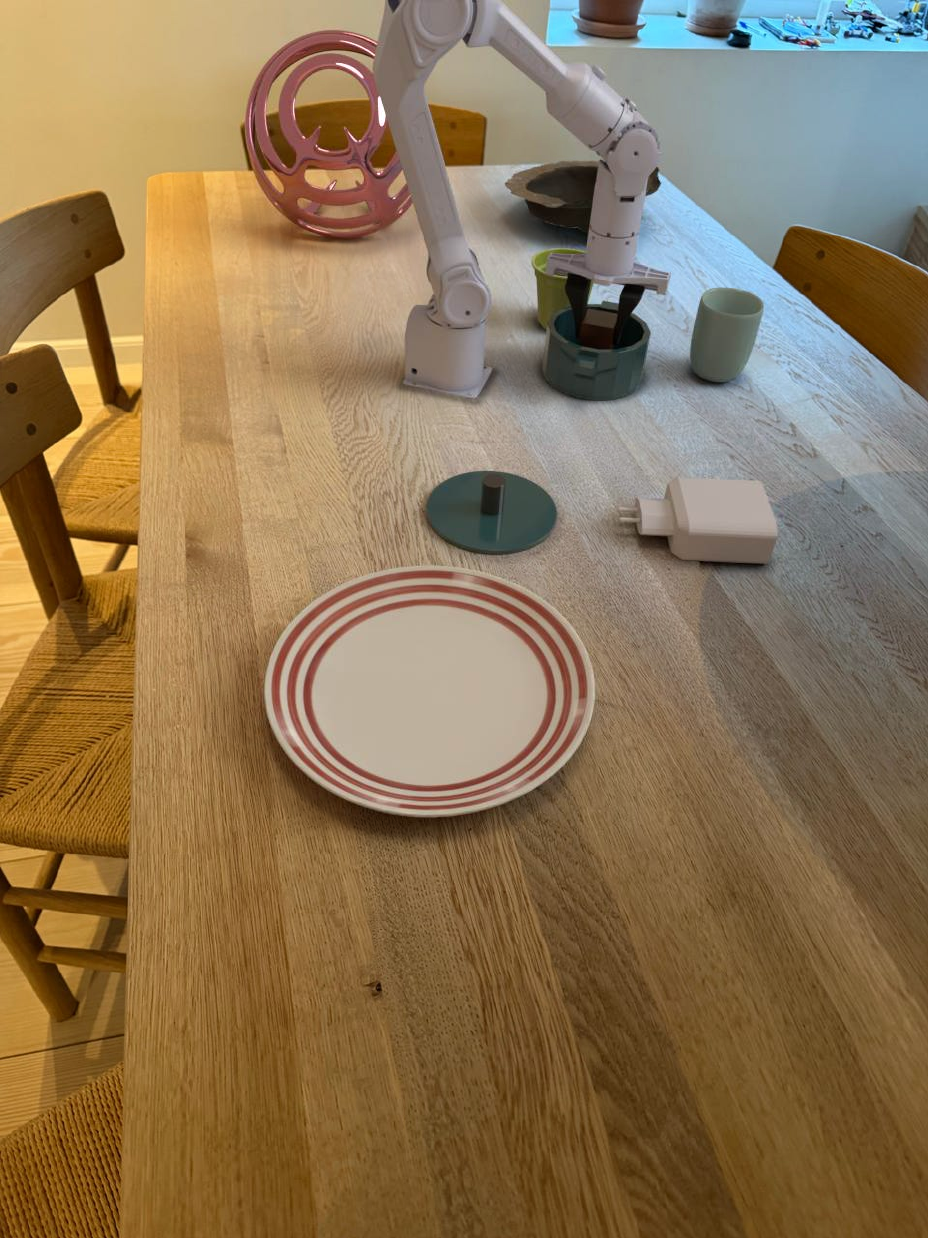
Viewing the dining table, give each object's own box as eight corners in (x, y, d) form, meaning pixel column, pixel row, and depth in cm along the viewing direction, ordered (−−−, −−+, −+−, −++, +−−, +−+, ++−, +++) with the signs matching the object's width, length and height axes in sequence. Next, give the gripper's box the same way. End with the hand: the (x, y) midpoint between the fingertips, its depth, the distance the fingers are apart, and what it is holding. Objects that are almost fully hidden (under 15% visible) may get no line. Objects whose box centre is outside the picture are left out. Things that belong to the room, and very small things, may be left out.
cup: (744, 393, 121) (765, 319, 114) (682, 384, 122) (699, 310, 115) (744, 363, 126) (764, 291, 119) (684, 355, 127) (701, 283, 120)
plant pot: (516, 330, 130) (521, 268, 124) (538, 302, 136) (544, 242, 130) (581, 345, 128) (590, 283, 122) (601, 316, 134) (610, 255, 128)
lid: (408, 541, 97) (408, 504, 93) (449, 468, 106) (450, 431, 103) (538, 571, 94) (543, 534, 91) (568, 494, 104) (573, 457, 100)
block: (577, 352, 119) (581, 322, 116) (583, 337, 122) (588, 308, 119) (608, 358, 118) (613, 328, 115) (614, 343, 121) (619, 313, 118)
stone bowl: (666, 258, 149) (674, 197, 142) (506, 262, 149) (506, 201, 143) (647, 195, 166) (653, 139, 160) (503, 199, 167) (503, 143, 160)
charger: (610, 506, 102) (749, 512, 103) (619, 562, 96) (767, 568, 96) (617, 469, 99) (760, 476, 99) (626, 524, 93) (780, 531, 93)
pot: (526, 399, 117) (531, 351, 113) (559, 334, 130) (565, 288, 125) (627, 419, 115) (637, 371, 110) (651, 351, 128) (660, 305, 123)
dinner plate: (484, 899, 68) (487, 874, 66) (197, 731, 78) (190, 704, 76) (642, 667, 85) (649, 641, 83) (391, 553, 95) (391, 527, 93)
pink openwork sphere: (288, 47, 154) (261, -37, 127) (452, 108, 157) (460, 38, 130) (240, 220, 158) (204, 174, 132) (401, 277, 161) (398, 243, 135)
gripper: (544, 230, 108) (533, 341, 117) (672, 252, 105) (649, 363, 115) (558, 208, 113) (546, 316, 122) (680, 228, 110) (658, 337, 120)
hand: (597, 337), depth 119 cm, fingers closed on block, 4 cm apart
